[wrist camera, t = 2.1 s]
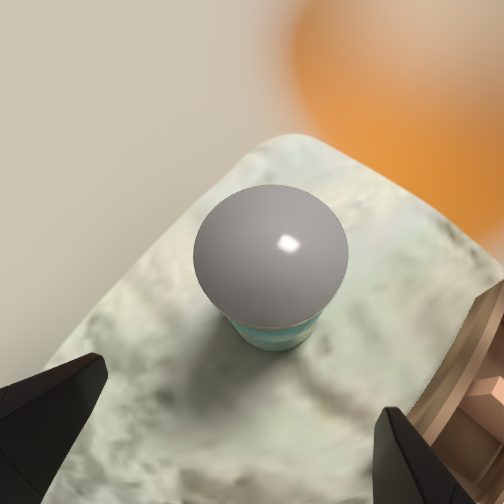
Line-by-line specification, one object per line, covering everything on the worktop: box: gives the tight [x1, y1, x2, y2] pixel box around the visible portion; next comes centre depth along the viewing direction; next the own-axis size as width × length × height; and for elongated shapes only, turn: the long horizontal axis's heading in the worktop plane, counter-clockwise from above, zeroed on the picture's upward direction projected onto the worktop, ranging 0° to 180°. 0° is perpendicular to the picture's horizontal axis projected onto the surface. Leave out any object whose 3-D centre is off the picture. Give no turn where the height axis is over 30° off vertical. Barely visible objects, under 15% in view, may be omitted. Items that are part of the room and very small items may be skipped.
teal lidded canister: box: [193, 185, 348, 352], centre depth 18 cm, size 7×7×10 cm
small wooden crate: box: [406, 279, 504, 504], centre depth 14 cm, size 14×11×6 cm
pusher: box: [457, 376, 504, 444], centre depth 13 cm, size 1×8×6 cm, turn 47°
